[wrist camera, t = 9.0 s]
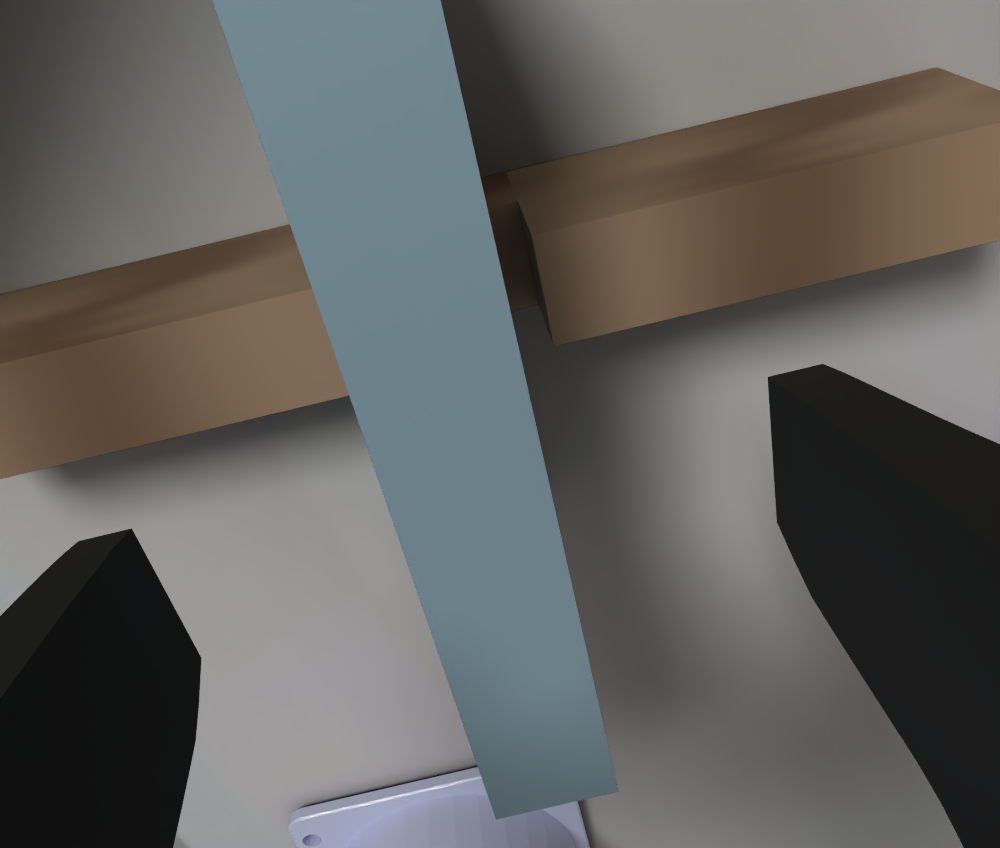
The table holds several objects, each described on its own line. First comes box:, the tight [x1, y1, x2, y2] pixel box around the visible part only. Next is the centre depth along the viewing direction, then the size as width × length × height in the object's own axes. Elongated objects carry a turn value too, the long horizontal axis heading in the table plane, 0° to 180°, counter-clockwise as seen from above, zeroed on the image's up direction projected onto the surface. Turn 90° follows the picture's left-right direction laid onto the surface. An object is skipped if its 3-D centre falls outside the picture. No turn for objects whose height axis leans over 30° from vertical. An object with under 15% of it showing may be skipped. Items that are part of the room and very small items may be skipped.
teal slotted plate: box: [212, 0, 618, 820], centre depth 14 cm, size 14×2×8 cm, turn 11°
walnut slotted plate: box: [0, 68, 1000, 479], centre depth 17 cm, size 20×2×4 cm, turn 101°
